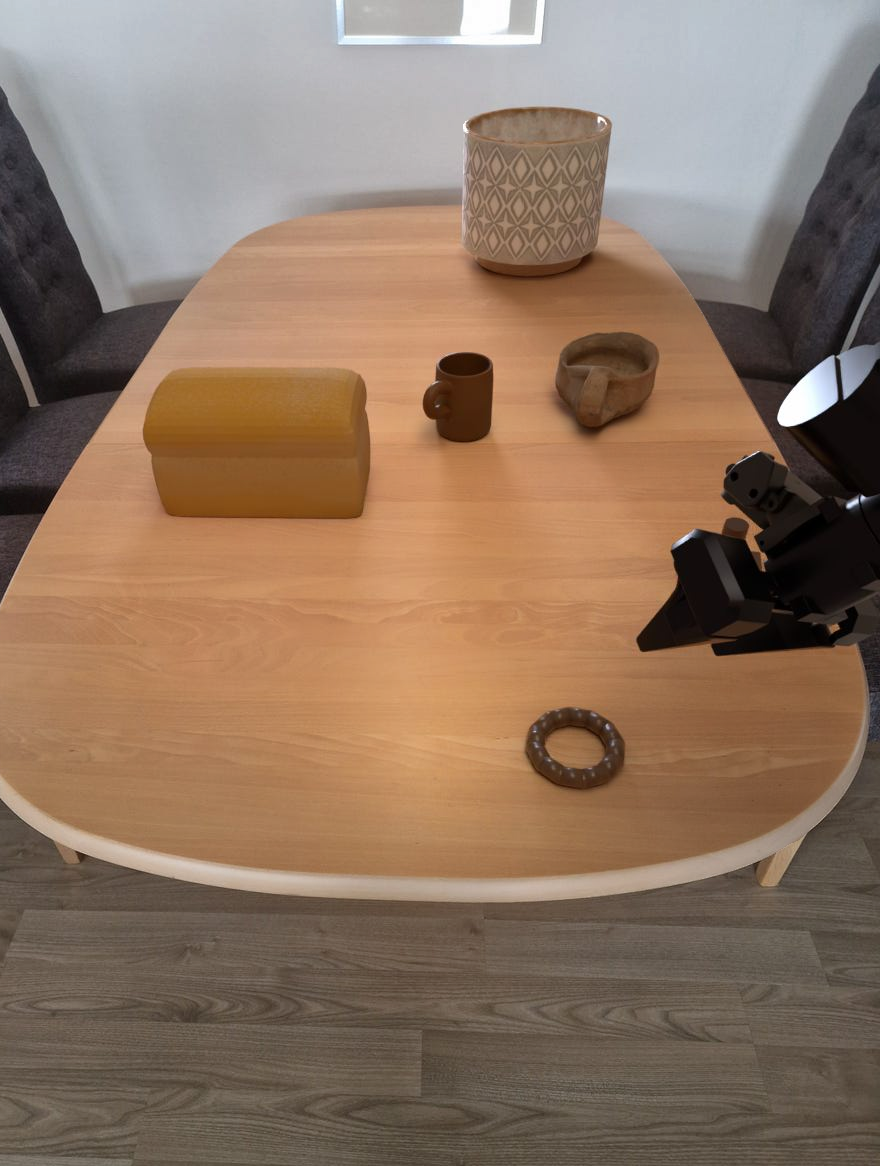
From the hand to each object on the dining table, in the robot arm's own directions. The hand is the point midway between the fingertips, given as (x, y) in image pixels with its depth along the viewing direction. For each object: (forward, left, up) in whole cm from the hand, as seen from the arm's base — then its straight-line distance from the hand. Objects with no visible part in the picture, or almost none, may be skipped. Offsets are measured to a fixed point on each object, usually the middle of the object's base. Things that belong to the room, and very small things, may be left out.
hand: (678, 648), depth 60 cm
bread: (+47, -36, -16) cm, 61 cm away
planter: (+26, -121, -16) cm, 125 cm away
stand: (-7, -29, -16) cm, 34 cm away
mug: (+27, -53, -16) cm, 61 cm away
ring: (+6, -2, -15) cm, 16 cm away
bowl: (+8, -63, -16) cm, 65 cm away
